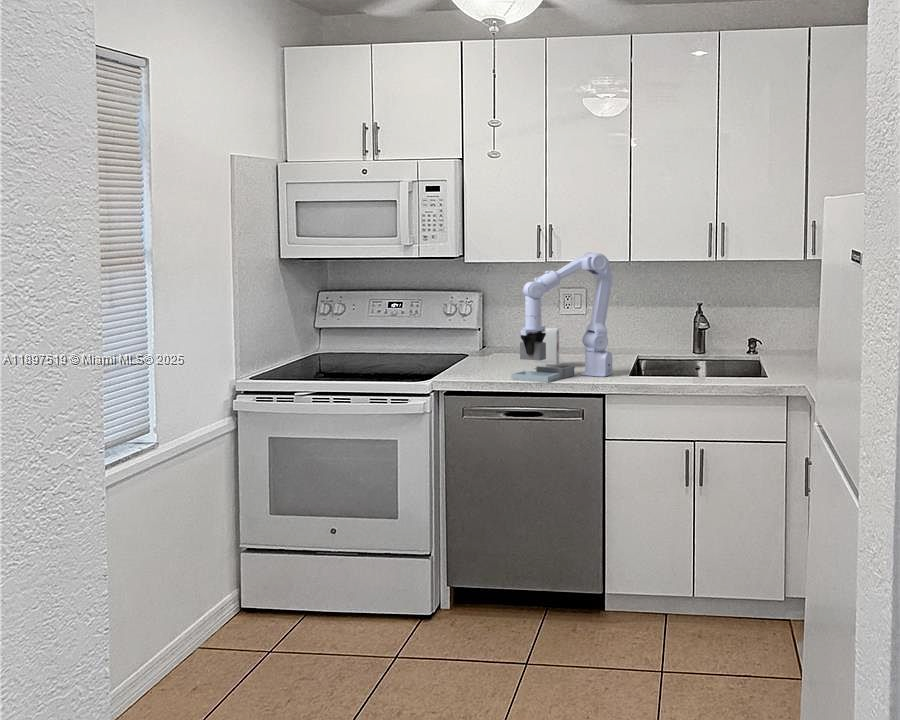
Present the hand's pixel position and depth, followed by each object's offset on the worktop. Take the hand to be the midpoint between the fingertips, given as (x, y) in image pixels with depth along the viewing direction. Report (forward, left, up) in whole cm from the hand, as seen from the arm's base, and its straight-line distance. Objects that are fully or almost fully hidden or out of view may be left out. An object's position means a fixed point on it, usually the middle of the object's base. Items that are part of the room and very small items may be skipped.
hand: (533, 353), depth 410 cm
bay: (-4, -9, -9) cm, 13 cm away
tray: (-2, +1, -9) cm, 9 cm away
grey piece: (+8, -26, -9) cm, 29 cm away
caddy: (0, 0, -2) cm, 2 cm away
